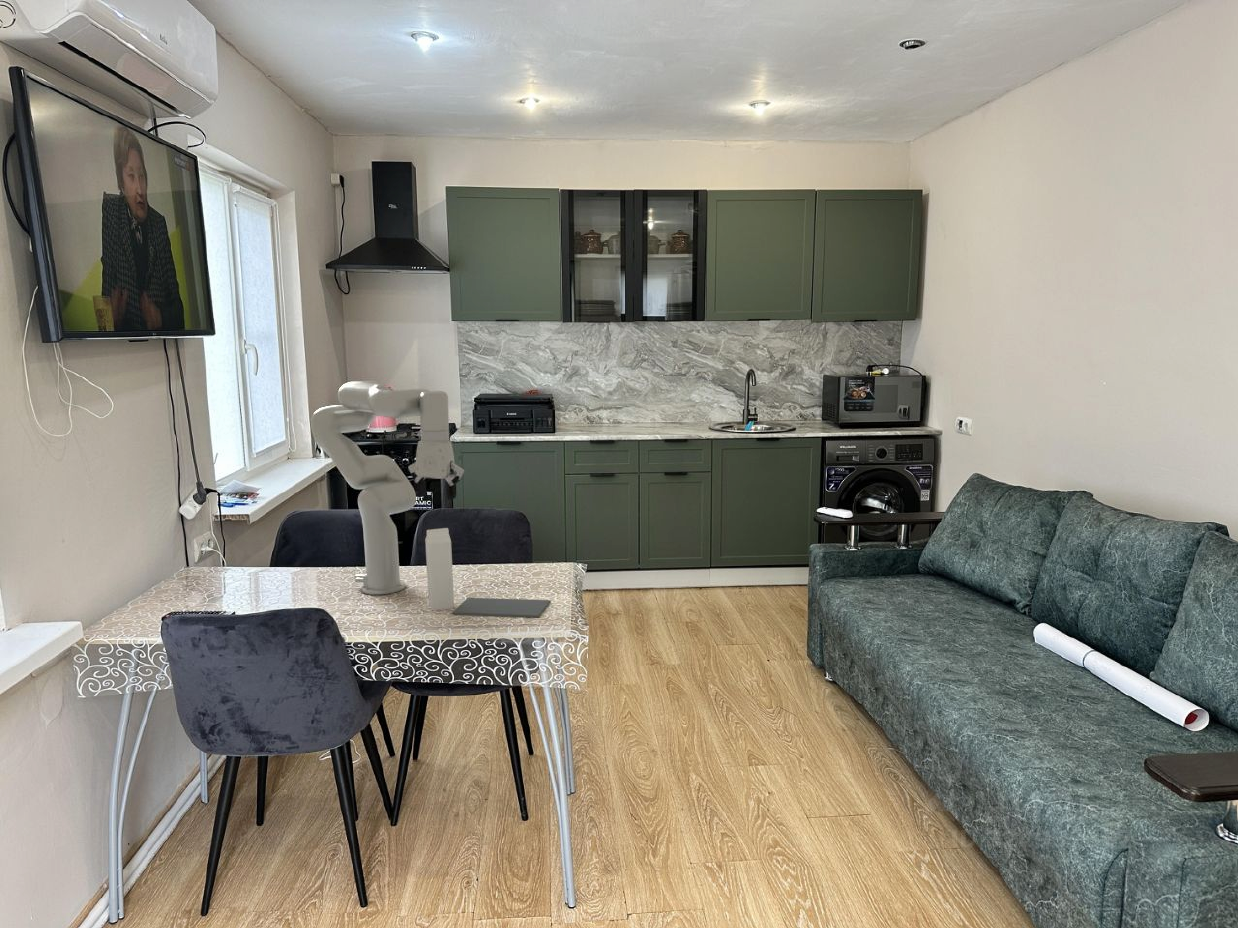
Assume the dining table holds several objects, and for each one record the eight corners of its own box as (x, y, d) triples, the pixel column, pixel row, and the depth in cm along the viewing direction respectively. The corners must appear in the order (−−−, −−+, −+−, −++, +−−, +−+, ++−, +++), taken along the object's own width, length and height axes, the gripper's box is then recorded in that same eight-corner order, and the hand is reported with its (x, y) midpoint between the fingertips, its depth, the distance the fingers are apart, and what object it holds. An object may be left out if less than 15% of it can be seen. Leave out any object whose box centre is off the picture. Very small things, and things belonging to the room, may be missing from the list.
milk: (454, 608, 216) (451, 530, 213) (432, 611, 214) (428, 532, 210) (449, 601, 221) (446, 525, 218) (428, 604, 219) (424, 527, 216)
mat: (452, 614, 210) (451, 612, 210) (468, 599, 223) (468, 597, 223) (538, 617, 207) (538, 615, 207) (550, 602, 219) (550, 600, 219)
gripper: (400, 436, 214) (402, 497, 217) (454, 439, 208) (456, 502, 211) (416, 433, 221) (418, 492, 224) (469, 436, 215) (471, 497, 217)
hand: (436, 497), depth 217 cm, fingers open, 9 cm apart
